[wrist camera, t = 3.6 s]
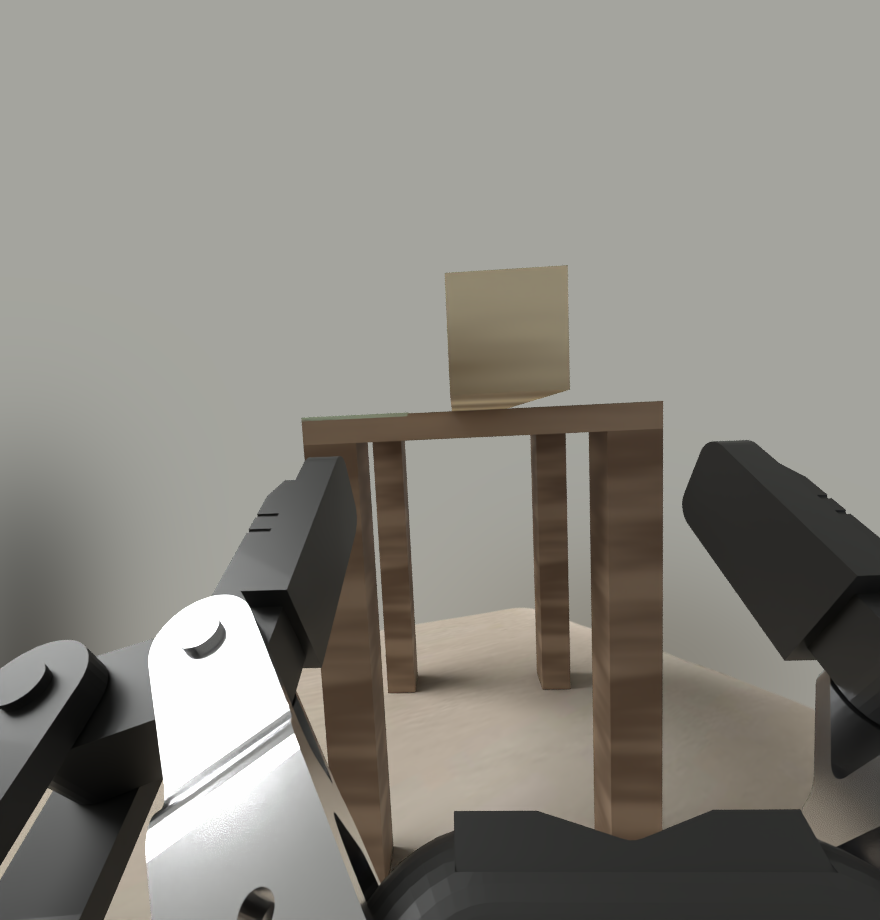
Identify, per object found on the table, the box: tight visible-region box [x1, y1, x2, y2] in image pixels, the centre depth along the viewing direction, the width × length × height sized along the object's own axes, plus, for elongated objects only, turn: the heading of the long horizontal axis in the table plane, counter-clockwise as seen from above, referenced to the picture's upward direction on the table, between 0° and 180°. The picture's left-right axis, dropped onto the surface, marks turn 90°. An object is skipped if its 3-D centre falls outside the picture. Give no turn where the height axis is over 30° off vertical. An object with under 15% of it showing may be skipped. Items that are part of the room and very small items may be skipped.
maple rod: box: [445, 265, 570, 411], centre depth 26 cm, size 32×3×3 cm, turn 178°
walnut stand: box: [302, 401, 663, 883], centre depth 34 cm, size 22×20×30 cm
